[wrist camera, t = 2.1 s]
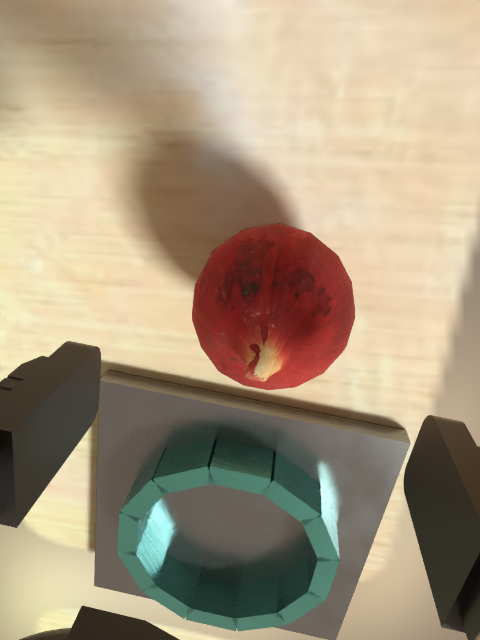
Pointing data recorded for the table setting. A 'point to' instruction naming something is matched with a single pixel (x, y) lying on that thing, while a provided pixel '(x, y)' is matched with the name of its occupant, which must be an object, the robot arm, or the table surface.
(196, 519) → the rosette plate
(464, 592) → the robot arm
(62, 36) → the table surface
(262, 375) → the onion
